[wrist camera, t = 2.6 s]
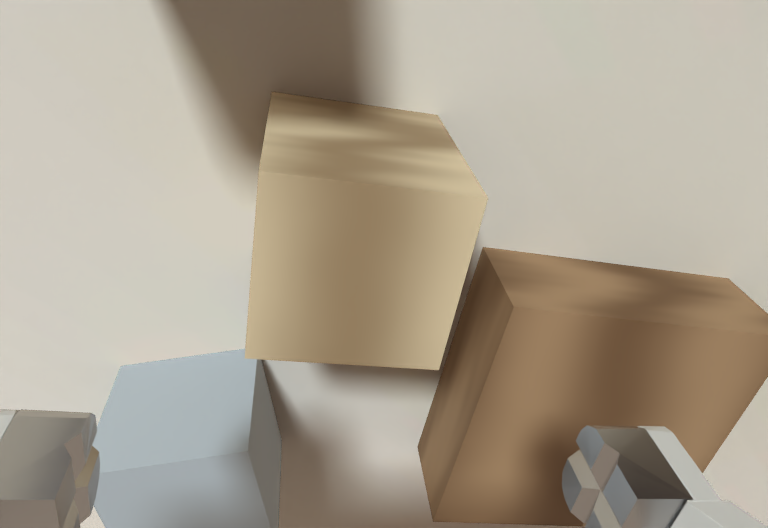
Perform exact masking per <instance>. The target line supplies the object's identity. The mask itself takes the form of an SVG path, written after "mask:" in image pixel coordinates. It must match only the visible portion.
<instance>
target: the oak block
mask: <svg viewBox="0 0 768 528" xmlns="http://www.w3.org/2000/svg"><path fill="white" fill-rule="evenodd" d="M487 200H488V197H487V195H486V194H485V192H484V190H483V189H482V187H481V185H480V184H479V182H478V180H477V179H476V177H475V176H474V174H473V172H472V171H471V169H470V167H469V166H468V164H467V162H466V161H465V159H464V158H463V156H462V154H461V153H460V151H459V149H458V148H457V146H456V145H455V143H454V141H453V140H452V138H451V136H450V135H449V133H448V131H447V130H446V128H445V127H444V125H443V123H442V122H441V120H440V118H439V117H438V115H433V114H426V113H419V112H412V111H405V110H398V109H391V108H384V107H377V106H370V105H363V104H356V103H349V102H342V101H335V100H328V99H321V98H314V97H307V96H300V95H292V94H285V93H278V92H272V93H271V99H270V105H269V111H268V117H267V123H266V129H265V136H264V142H263V148H262V154H261V160H260V166H259V173H258V187H257V200H256V213H255V227H254V240H253V253H252V266H251V280H250V293H249V306H248V320H247V333H246V346H245V358H246V359H262V360H279V361H295V362H312V363H329V364H345V365H362V366H378V367H395V368H412V369H428V370H439V368H440V365H441V361H442V358H443V354H444V351H445V347H446V344H447V340H448V337H449V333H450V330H451V326H452V323H453V319H454V316H455V312H456V309H457V305H458V302H459V298H460V295H461V291H462V288H463V284H464V281H465V277H466V274H467V270H468V267H469V263H470V260H471V256H472V253H473V249H474V246H475V242H476V239H477V235H478V232H479V228H480V225H481V221H482V218H483V214H484V211H485V207H486V204H487Z"/></svg>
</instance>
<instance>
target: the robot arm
mask: <svg viewBox="0 0 768 528" xmlns="http://www.w3.org/2000/svg"><path fill="white" fill-rule="evenodd" d="M96 433H97V425H96V417H95V415H94V414H92V413H83V412H62V411H42V410H7V409H0V528H80V523H82V522H83V521H84V520H85V519H86V518H87V517H89V516H90V515H91V511H92V508H93V505H94V502H95V498H96V493H97V488H98V483H99V475H100V456H99V451H98V450H97V449H95V448H94V447H93V446H92V445H93V442H94V439H95V436H96ZM576 442H577V445H578V447H579V450H578V451H577V452H575V453H574V454H573V455H571V456H570V457H569V458H568V459H567V461H566V464H565V466H564V469H563V471H562V489H563V493H564V498H565V501H566V503H567V505H568V508H569V510H570V512H571V513H572V514H573V515H575V516H576V517H577V518H578V519H579V520H580V521H582V522H583V523H584V524H583V528H768V526H766V525H765V524H764V523H762V522H761V521H759V520H758V519H756V518H755V517H753V516H752V515H750V514H749V513H747V512H746V511H744V510H743V509H741V508H740V507H739V506H737V505H736V504H734V503H733V502H731V501H726V500H721V498H720V497H719V495H718V494H717V493H716V491H715V490H714V489H713V487H712V486H711V484H710V483H709V482H708V480H707V479H706V478H705V476H704V475H703V473H702V472H701V471H700V469H699V468H698V467H697V465H696V464H695V462H694V461H693V460H692V458H691V457H690V456H689V454H688V453H687V451H686V450H685V449H684V447H683V446H682V445H681V443H680V442H679V440H678V439H677V438H676V436H675V435H674V434H673V432H672V431H670V430H669V429H667V428H666V427H664V426H637V427H636V426H604V425H587V426H586V427H584V428H583V429H582V430H581V431H580V433H579V435H578V437H577V439H576Z"/></svg>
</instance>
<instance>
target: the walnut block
mask: <svg viewBox="0 0 768 528" xmlns="http://www.w3.org/2000/svg"><path fill="white" fill-rule="evenodd" d="M767 377H768V314H767V313H766V312H765V311H764V310H763V309H762V308H761V307H760V306H758V305H757V304H756V303H755V302H754V301H753V300H752V299H751V298H749V297H748V296H747V295H746V294H745V293H744V292H743V291H742V290H740V289H739V288H738V287H737V286H736V285H735V284H734V283H733V282H732V281H730V280H729V279H728V278H720V277H712V276H704V275H696V274H689V273H681V272H673V271H665V270H657V269H650V268H642V267H634V266H626V265H619V264H611V263H603V262H595V261H587V260H580V259H572V258H564V257H556V256H548V255H541V254H533V253H525V252H517V251H510V250H502V249H494V248H486V247H483V249H482V252H481V255H480V258H479V261H478V264H477V267H476V270H475V273H474V276H473V279H472V282H471V285H470V288H469V291H468V294H467V297H466V301H465V304H464V307H463V310H462V313H461V316H460V319H459V322H458V325H457V328H456V331H455V334H454V337H453V340H452V343H451V346H450V349H449V353H448V356H447V359H446V362H445V365H444V368H443V371H442V374H441V377H440V380H439V383H438V386H437V389H436V392H435V395H434V398H433V401H432V404H431V408H430V411H429V414H428V417H427V420H426V423H425V426H424V429H423V432H422V435H421V438H420V441H419V444H418V452H419V456H420V461H421V466H422V471H423V476H424V480H425V485H426V490H427V495H428V500H429V504H430V509H431V514H432V519H433V522H463V523H495V524H527V525H559V526H583V524H584V523H583V522H582V521H580V520H579V519H578V518H577V517H576V516H575V515H573V514H572V513H571V512H570V510H569V508H568V505H567V503H566V501H565V498H564V493H563V489H562V471H563V469H564V466H565V464H566V461H567V459H568V458H569V457H570V456H571V455H573V454H574V453H575V452H577V451H578V450H579V447H578V445H577V442H576V439H577V437H578V435H579V433H580V431H581V430H582V429H583V428H584V427H586V426H587V425H604V426H636V427H637V426H664V427H666V428H667V429H669V430H670V431H672V432H673V434H674V435H675V436H676V438H677V439H678V440H679V442H680V443H681V445H682V446H683V447H684V449H685V450H686V451H687V453H688V454H689V456H690V457H691V458H692V460H693V461H694V462H695V464H696V465H697V467H698V468H699V469H700V471H701V472H702V473H703V472H704V470H705V469H706V467H707V466H708V464H709V463H710V461H711V460H712V458H713V457H714V455H715V454H716V452H717V451H718V449H719V448H720V446H721V445H722V444H723V442H724V441H725V439H726V438H727V436H728V435H729V433H730V432H731V430H732V429H733V427H734V426H735V424H736V423H737V421H738V420H739V418H740V417H741V415H742V414H743V412H744V411H745V410H746V408H747V407H748V405H749V404H750V402H751V401H752V399H753V398H754V396H755V395H756V393H757V392H758V390H759V389H760V387H761V386H762V384H763V383H764V381H765V380H766V378H767Z"/></svg>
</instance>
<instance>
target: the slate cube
mask: <svg viewBox="0 0 768 528" xmlns="http://www.w3.org/2000/svg"><path fill="white" fill-rule="evenodd" d="M92 446H93V447H94V448H95V449H97V450H98V451H99V456H100V475H99V483H98V488H97V493H96V498H95V502H94V507H95V509H96V511H97V513H98V515H99V517H100V518H101V520H102V522H103V524H104V526H105V528H279V502H280V476H281V450H282V439H281V435H280V431H279V427H278V423H277V419H276V415H275V411H274V407H273V404H272V400H271V396H270V392H269V388H268V384H267V380H266V376H265V372H264V368H263V364H262V360H261V359H246V358H245V349H239V350H232V351H225V352H218V353H211V354H203V355H196V356H189V357H182V358H175V359H167V360H160V361H153V362H146V363H139V364H132V365H124V366H121V367H120V369H119V372H118V375H117V377H116V380H115V382H114V385H113V387H112V390H111V393H110V395H109V398H108V400H107V403H106V405H105V408H104V411H103V413H102V416H101V418H100V421H99V423H98V426H97V433H96V436H95V439H94V442H93V445H92Z"/></svg>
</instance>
